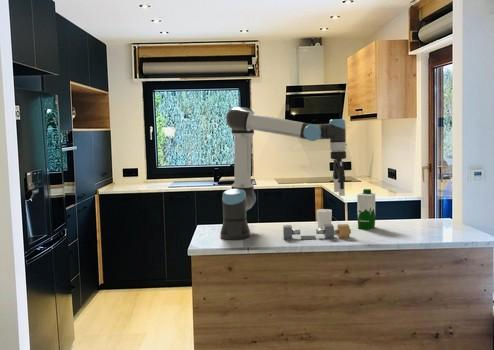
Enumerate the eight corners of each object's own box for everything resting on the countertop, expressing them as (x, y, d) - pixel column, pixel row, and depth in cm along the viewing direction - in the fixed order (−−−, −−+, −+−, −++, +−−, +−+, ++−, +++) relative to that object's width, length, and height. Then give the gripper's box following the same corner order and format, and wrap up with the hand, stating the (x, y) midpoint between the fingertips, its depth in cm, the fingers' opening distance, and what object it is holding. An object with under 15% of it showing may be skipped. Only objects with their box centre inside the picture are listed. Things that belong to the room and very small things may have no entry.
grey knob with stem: (317, 238, 232) (316, 226, 232) (316, 236, 237) (315, 224, 237) (333, 238, 232) (333, 226, 231) (332, 236, 237) (332, 224, 236)
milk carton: (376, 226, 255) (376, 189, 253) (372, 230, 247) (372, 191, 245) (360, 225, 259) (360, 188, 257) (355, 229, 251) (355, 191, 249)
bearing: (283, 239, 233) (283, 227, 232) (283, 237, 238) (283, 225, 237) (300, 239, 233) (300, 227, 232) (299, 236, 238) (299, 224, 237)
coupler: (337, 238, 232) (337, 226, 231) (336, 236, 237) (335, 224, 236) (351, 238, 232) (351, 226, 231) (349, 236, 236) (349, 224, 236)
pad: (301, 239, 232) (301, 239, 232) (300, 236, 239) (300, 235, 239) (316, 239, 231) (316, 238, 231) (314, 236, 238) (314, 235, 238)
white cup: (331, 230, 249) (331, 211, 248) (316, 230, 250) (316, 211, 249) (332, 227, 256) (332, 209, 255) (317, 227, 258) (317, 209, 257)
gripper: (351, 151, 224) (352, 197, 226) (341, 149, 249) (342, 190, 251) (334, 152, 224) (336, 197, 226) (326, 150, 249) (327, 190, 251)
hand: (339, 193), depth 239 cm, fingers open, 13 cm apart
